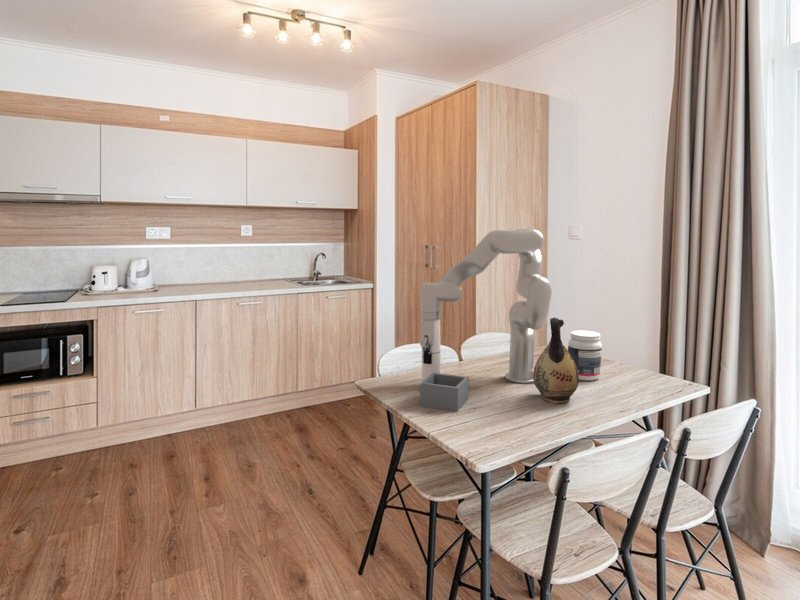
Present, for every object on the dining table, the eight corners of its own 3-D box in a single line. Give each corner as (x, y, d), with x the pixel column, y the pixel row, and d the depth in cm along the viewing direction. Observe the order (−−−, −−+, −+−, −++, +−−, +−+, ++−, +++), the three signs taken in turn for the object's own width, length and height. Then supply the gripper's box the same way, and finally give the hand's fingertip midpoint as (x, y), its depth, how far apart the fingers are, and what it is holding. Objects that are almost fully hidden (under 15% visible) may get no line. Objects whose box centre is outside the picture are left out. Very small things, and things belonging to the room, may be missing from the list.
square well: (468, 398, 174) (468, 377, 173) (457, 411, 162) (458, 388, 161) (432, 393, 180) (433, 372, 179) (419, 405, 167) (420, 383, 166)
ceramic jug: (535, 389, 185) (538, 311, 180) (578, 395, 179) (583, 314, 174) (528, 404, 169) (532, 319, 165) (576, 411, 163) (581, 322, 159)
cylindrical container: (439, 386, 185) (439, 321, 181) (420, 385, 186) (419, 320, 182) (441, 380, 192) (441, 317, 188) (423, 379, 193) (422, 317, 189)
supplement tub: (564, 371, 208) (566, 329, 205) (595, 373, 206) (598, 330, 203) (569, 380, 195) (572, 335, 193) (603, 382, 193) (606, 337, 191)
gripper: (429, 311, 194) (429, 354, 197) (413, 319, 179) (413, 366, 181) (447, 312, 191) (447, 356, 194) (432, 320, 176) (432, 368, 178)
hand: (431, 360), depth 188 cm, fingers closed on cylindrical container, 7 cm apart
